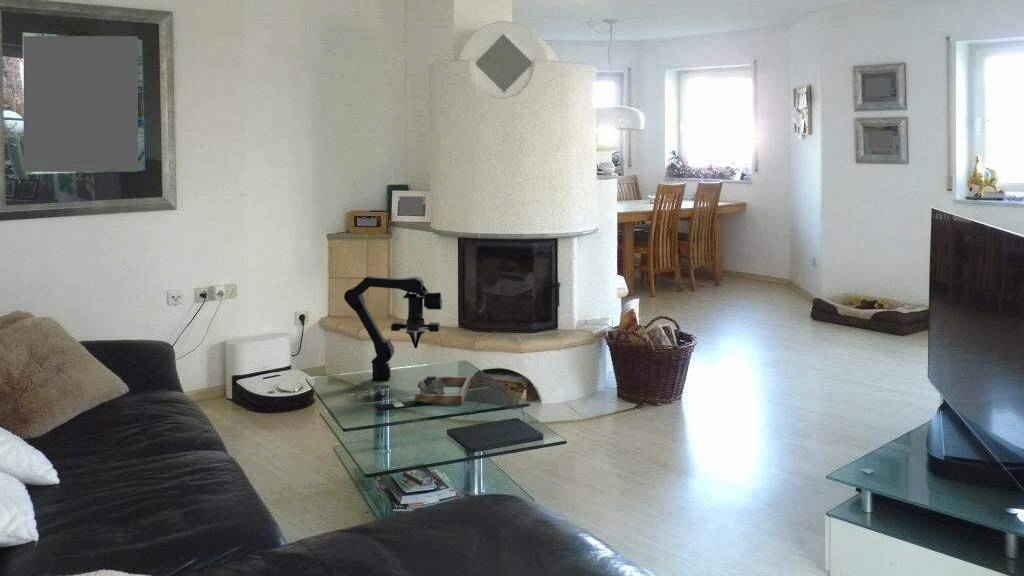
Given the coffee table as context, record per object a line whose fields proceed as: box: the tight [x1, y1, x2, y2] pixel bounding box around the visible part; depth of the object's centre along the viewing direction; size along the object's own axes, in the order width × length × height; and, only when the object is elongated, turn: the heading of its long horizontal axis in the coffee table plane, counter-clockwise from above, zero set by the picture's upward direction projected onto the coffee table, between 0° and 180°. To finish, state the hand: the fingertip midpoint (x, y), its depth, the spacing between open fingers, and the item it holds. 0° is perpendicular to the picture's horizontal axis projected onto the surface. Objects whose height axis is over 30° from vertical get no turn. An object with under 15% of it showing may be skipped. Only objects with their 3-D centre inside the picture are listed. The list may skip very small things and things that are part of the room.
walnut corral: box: [414, 375, 471, 405], centre depth 350 cm, size 17×28×3 cm, turn 177°
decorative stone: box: [417, 375, 446, 395], centre depth 344 cm, size 16×9×10 cm
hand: (415, 348), depth 368 cm, fingers closed
